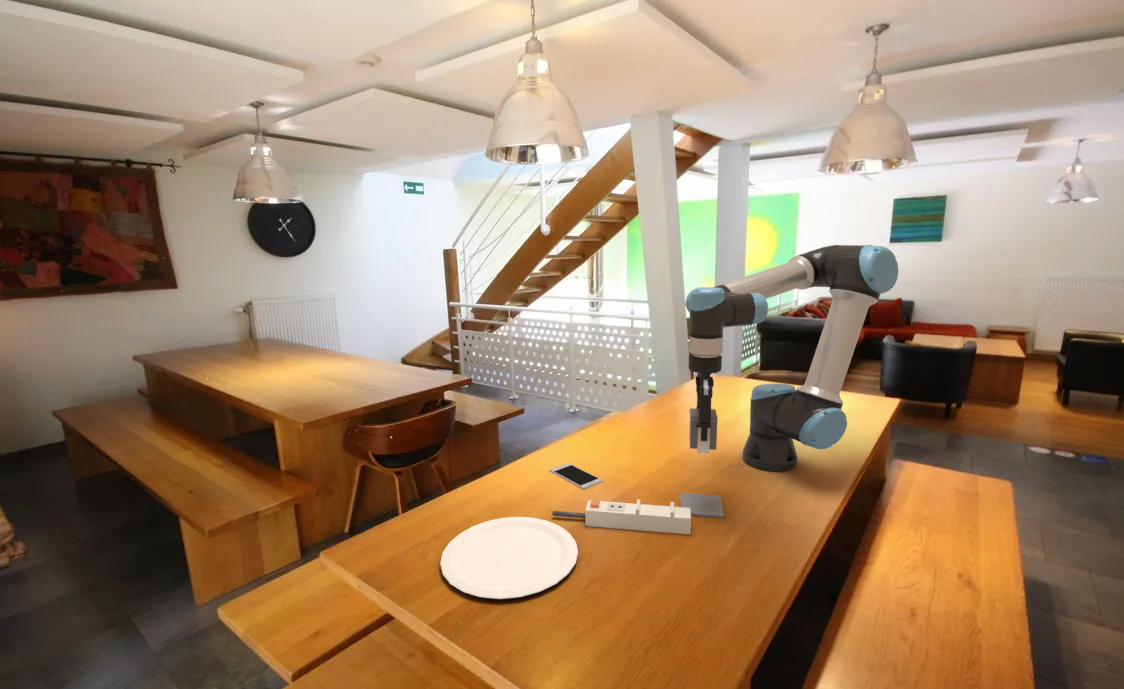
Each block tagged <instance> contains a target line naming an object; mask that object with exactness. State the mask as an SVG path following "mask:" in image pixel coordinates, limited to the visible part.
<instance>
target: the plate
mask: <svg viewBox="0 0 1124 689" xmlns="http://www.w3.org/2000/svg"><path fill="white" fill-rule="evenodd" d="M578 549H579V548H578V545H577V541H576V540H575V539H574V537H573V536H572V534H571V533H570V531H568V530H566V529H565V528H563V527H562V526H561V525H558V524H556V523H554V522H552V521H548V520H545V519H541V518H536V517H529V516H508V517H499V518H496V519H491V520H485V521H484V522H481V523H479V524H476V525H475V524H474V525H472V526H471V527H469V528H467V529H465V530H464V531H462V532H460V533H458V535H456V536H455V537H454V538H453V539H451V541H449V542H448V544H447V545H446V547H445V549H444V550H443V551H442V553H441V558H440V562H439V564H440V569H441V573H442V576H443V577H444V578H445V580H446V581H447V582H448V584H449V585H450V586H452V587H453V588H455V589H456V590H458V591H459V592H461V593H463V594H465V595H470V596H473V597H475V598H476V597H477V598H480V599H489V600H499V601H500V600H511V599H512V600H513V599H521V598H525V597H527V596H532V595H535V594H539V593H541V592H544V591H546V590H548V589H550V588H552V587H554V586H556V585H557V584H559V583H560V582H561V581H562V580H564V578H566V577H567V576H569V574H570V573H571V571H572V570H573V568H574V567H575V566H576V563H577V560H578V555H579V550H578Z"/></svg>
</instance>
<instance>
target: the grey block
mask: <svg viewBox="0 0 1124 689" xmlns="http://www.w3.org/2000/svg"><path fill="white" fill-rule="evenodd" d="M718 420H719V419H718V415H717V410H716V409H714V408H711V428H710V445H709V450H710V451H711V450H712V451H714V450H715V451H717V438H718V437H717V435H718ZM698 424H699V409H696V407H695V408H691V407H690V409H689V435H688V436H689V437H688V438H689V440H688V441H689V449H693V450H694V449H695V450H697V443H698V427H696V425H698Z"/></svg>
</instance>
